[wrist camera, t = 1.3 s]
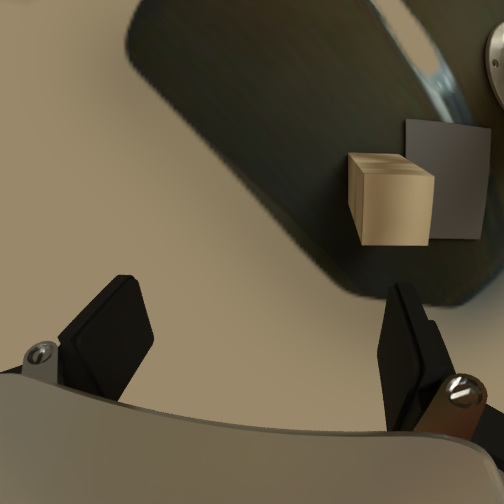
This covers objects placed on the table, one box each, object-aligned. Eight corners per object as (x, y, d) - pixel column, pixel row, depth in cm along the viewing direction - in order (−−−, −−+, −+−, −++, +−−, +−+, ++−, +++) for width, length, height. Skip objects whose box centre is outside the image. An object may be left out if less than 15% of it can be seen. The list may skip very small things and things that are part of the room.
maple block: (398, 154, 28) (434, 176, 19) (396, 203, 30) (427, 245, 21) (347, 152, 29) (364, 173, 20) (348, 203, 31) (361, 245, 22)
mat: (489, 128, 24) (491, 129, 24) (478, 238, 29) (480, 239, 29) (405, 118, 26) (406, 118, 26) (400, 236, 31) (401, 237, 31)
